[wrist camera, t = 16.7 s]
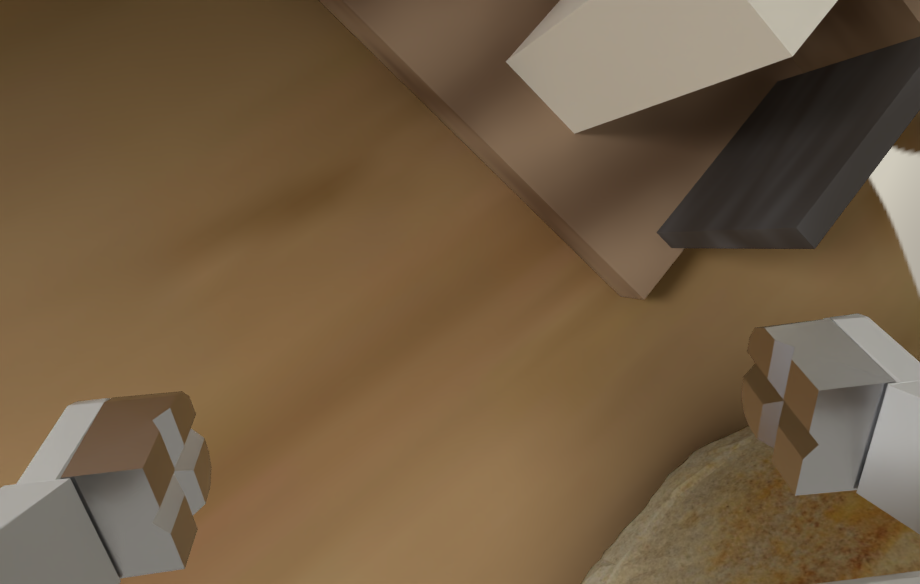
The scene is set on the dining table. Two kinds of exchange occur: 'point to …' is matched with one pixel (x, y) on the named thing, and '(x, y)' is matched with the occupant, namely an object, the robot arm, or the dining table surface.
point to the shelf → (664, 131)
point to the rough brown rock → (752, 528)
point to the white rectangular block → (653, 50)
